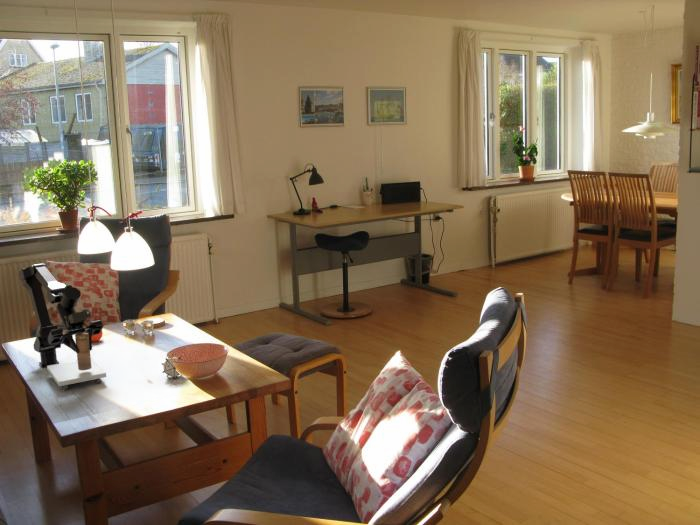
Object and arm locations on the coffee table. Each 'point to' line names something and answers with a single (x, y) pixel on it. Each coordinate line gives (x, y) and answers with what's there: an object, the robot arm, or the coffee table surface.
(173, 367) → the grey spiky ball
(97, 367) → the caster cart
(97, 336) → the clementine
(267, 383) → the coffee table surface
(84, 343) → the cylinder
